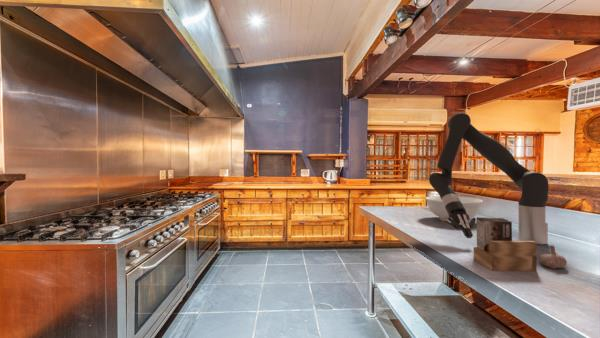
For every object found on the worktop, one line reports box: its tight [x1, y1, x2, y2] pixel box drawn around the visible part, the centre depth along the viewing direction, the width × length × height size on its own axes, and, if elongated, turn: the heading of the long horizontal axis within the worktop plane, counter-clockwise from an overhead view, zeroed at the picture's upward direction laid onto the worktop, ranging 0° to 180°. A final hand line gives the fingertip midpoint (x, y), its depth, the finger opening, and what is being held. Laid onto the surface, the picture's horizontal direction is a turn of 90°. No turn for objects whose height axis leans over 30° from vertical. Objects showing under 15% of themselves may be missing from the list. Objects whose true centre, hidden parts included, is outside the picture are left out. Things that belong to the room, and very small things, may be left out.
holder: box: [473, 240, 538, 272], centre depth 87 cm, size 15×9×10 cm, turn 88°
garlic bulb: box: [539, 244, 568, 270], centre depth 86 cm, size 8×7×8 cm
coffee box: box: [476, 217, 513, 252], centre depth 91 cm, size 9×6×16 cm
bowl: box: [425, 195, 484, 222], centre depth 159 cm, size 32×32×15 cm
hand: (470, 237), depth 105 cm, fingers closed
